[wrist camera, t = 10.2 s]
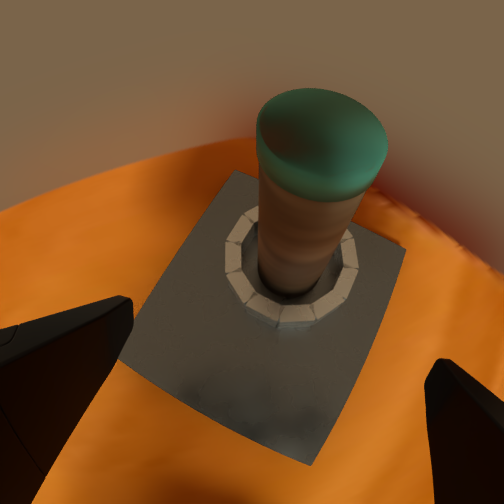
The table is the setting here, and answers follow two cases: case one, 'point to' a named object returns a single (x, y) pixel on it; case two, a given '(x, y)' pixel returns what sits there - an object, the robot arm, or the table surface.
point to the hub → (262, 328)
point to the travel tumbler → (310, 181)
